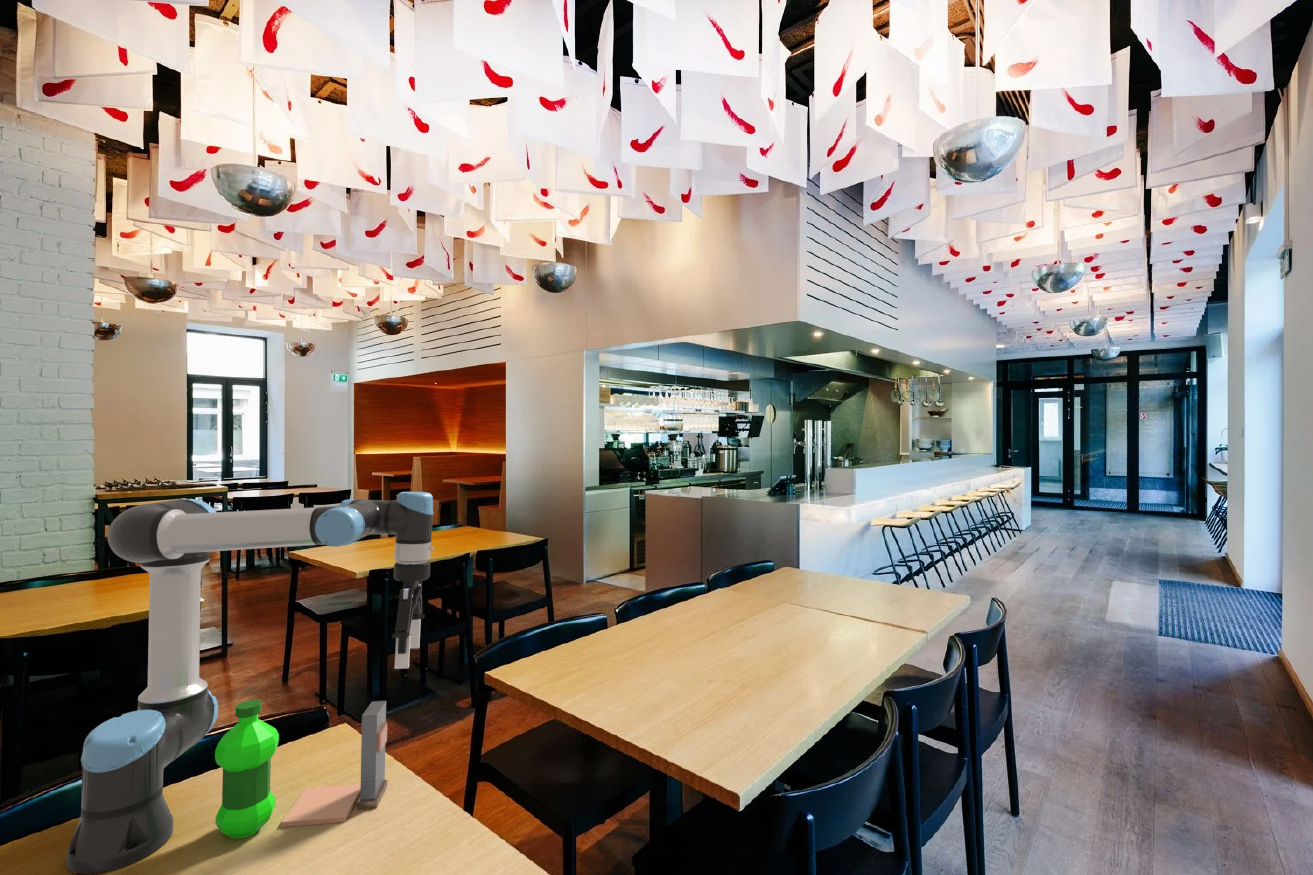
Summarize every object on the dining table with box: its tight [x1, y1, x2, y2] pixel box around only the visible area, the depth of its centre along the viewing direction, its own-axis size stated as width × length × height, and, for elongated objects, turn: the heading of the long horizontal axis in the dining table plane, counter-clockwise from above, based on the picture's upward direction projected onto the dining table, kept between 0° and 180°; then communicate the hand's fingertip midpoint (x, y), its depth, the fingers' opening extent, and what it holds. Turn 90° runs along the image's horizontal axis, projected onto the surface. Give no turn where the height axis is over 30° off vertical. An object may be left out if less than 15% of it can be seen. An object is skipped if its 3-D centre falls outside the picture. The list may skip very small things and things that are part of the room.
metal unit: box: [356, 700, 389, 810], centre depth 131 cm, size 4×8×20 cm, turn 10°
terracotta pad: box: [280, 783, 361, 828], centre depth 127 cm, size 12×12×1 cm
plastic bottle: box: [214, 699, 280, 839], centre depth 119 cm, size 10×10×25 cm
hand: (407, 657), depth 132 cm, fingers open, 13 cm apart
